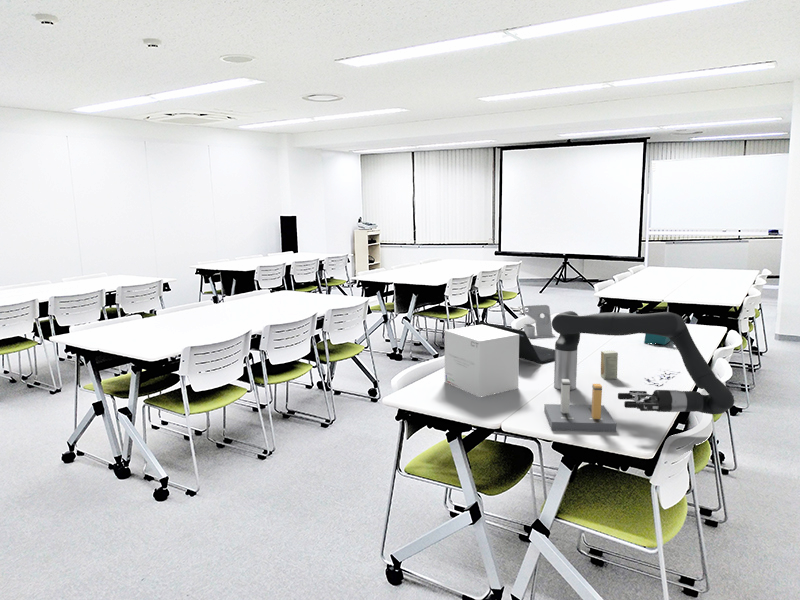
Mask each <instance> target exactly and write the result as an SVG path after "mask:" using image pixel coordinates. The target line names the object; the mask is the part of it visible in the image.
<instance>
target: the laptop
mask: <svg viewBox="0 0 800 600" xmlns="http://www.w3.org/2000/svg"><path fill="white" fill-rule="evenodd" d="M476 325H486V326H490V327H494V328H497V329H501V330H505V331H508V332H512V333H516V334H519V359H523V360H526V361H532V362H536V363H538V364H542V363H547V362H551V361H555V348H554V349H553V348H549V347H543V346H540V345H535V344H532V342H531V341H530V340H531V339H530V338H528V337H527V335H526V333H525V331H524V330H522V329H518V328H512V327H507V326H502V325H498V324H497V325H496V324H493V323H489V322H483V321H478V320H477V322H476Z"/></svg>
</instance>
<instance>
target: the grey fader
mask: <svg viewBox="0 0 800 600" xmlns="http://www.w3.org/2000/svg"><path fill="white" fill-rule="evenodd" d="M570 391H571V390H570V381H569V379H561V390H560V404H561V412H562V413H569V405H570V395H571V394H570V393H571V392H570Z"/></svg>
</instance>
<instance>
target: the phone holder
mask: <svg viewBox="0 0 800 600" xmlns="http://www.w3.org/2000/svg"><path fill="white" fill-rule="evenodd" d="M526 308H528V311H526ZM522 312H523V314H524V315H526V316H527V317H529V318H531V319H533V320H534V321H535V326H534V325H532V324H530V323H525V324H524V325H523V331H525V333H526V335H527V337H529V338H528V339H532V338H533V339H536V338H552V337H553V338H554V337H556V335H555V334H554V333H553V327H552V319H551V318H552V317H551V309H550V306H549V305H548V304H541V305H539V304H537V305H525V306H524V307H523V309H522ZM542 314H543V316H544V317H541V315H542Z"/></svg>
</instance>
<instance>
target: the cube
mask: <svg viewBox="0 0 800 600" xmlns="http://www.w3.org/2000/svg"><path fill="white" fill-rule="evenodd" d="M519 364H520V358H519V334H516V333H512V332H508V331H505V330H501V329H497V328H494V327H490V326H486V325H477V324H476V325H470V326H464V327H463V326H462V327H457V328H451V329H445V330H444V383H446V384H448V383H449V385H450V384H451V386H452V387H455V386H456V387H455V388H457V387H458V388H457V389H459V388H460V390H461V389H462V391H464V390H465V391H464V392H466V391H467V392H466V393H468V392H470V393H472V394H474V395H473V396H475V395H476V396H475V397H477V396H478V397H477V398H479V397H480V398H482V397H481V396H484V397H486V396H485V395H488V396H491V395H490V394H493V395H495V394H494V393H497V394H499V393H498V392H501V393H504V391H505V392H508V391H509V390H510V391H513V389H514V390H518V389H519V375H520V374H519V369H520V366H519ZM470 393H469V394H470ZM472 394H471V395H472Z"/></svg>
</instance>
